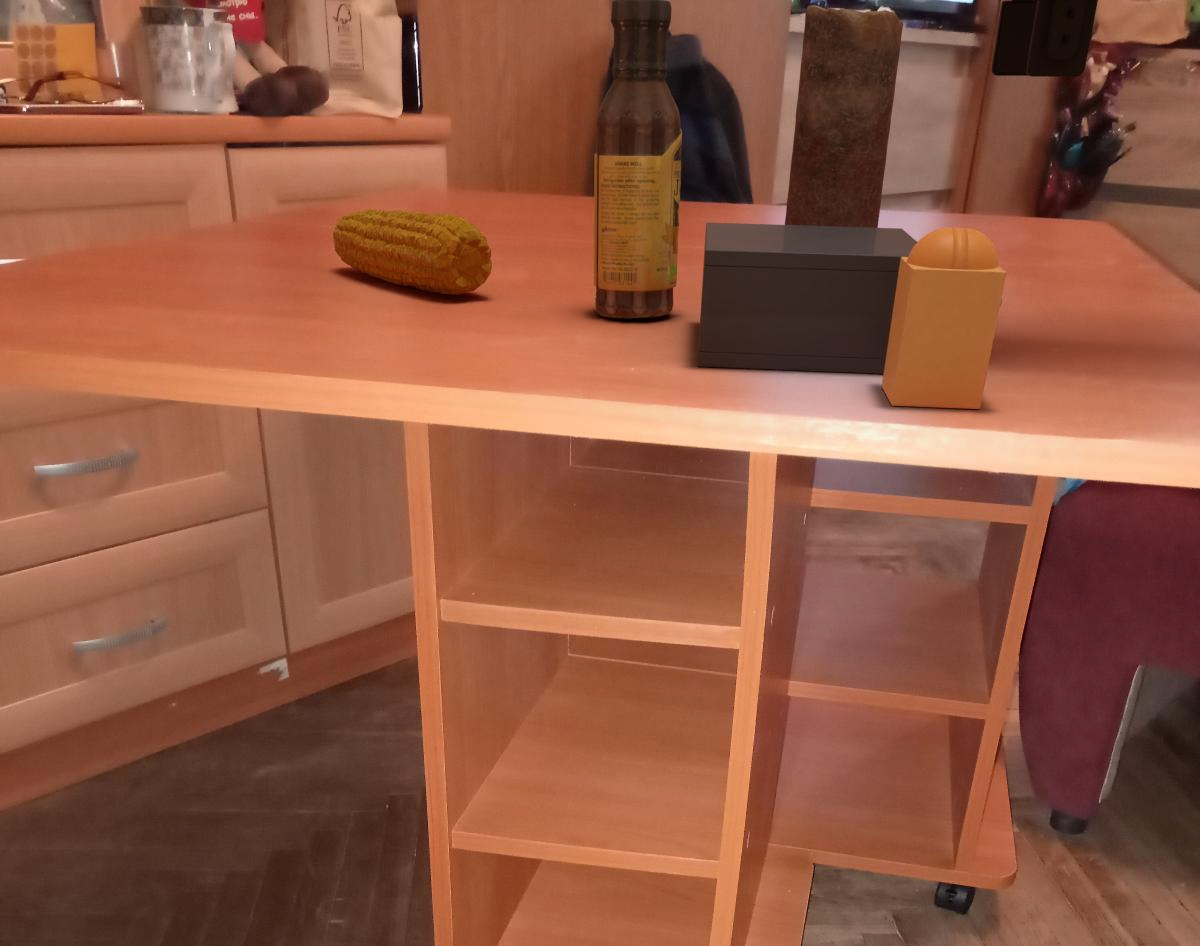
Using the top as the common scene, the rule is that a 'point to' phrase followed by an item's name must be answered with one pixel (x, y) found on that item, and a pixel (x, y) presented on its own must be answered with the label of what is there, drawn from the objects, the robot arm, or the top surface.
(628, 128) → the sauce bottle
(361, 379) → the top surface
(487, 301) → the top surface
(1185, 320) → the top surface
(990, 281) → the orange container
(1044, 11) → the robot arm
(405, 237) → the food
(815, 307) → the cabinet
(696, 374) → the top surface
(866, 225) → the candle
